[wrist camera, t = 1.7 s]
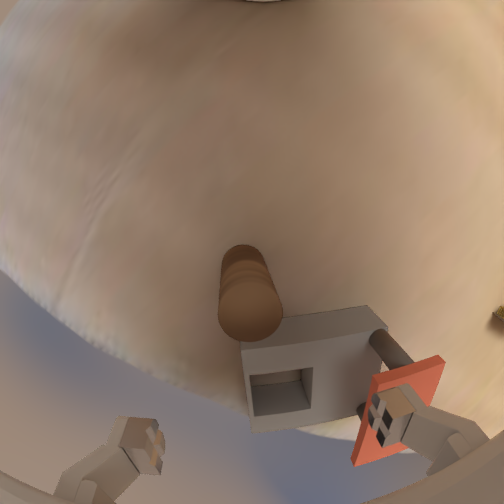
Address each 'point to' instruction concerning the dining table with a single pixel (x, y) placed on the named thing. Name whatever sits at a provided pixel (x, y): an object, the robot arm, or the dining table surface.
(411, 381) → the socket stand
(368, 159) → the dining table surface
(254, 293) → the walnut peg
